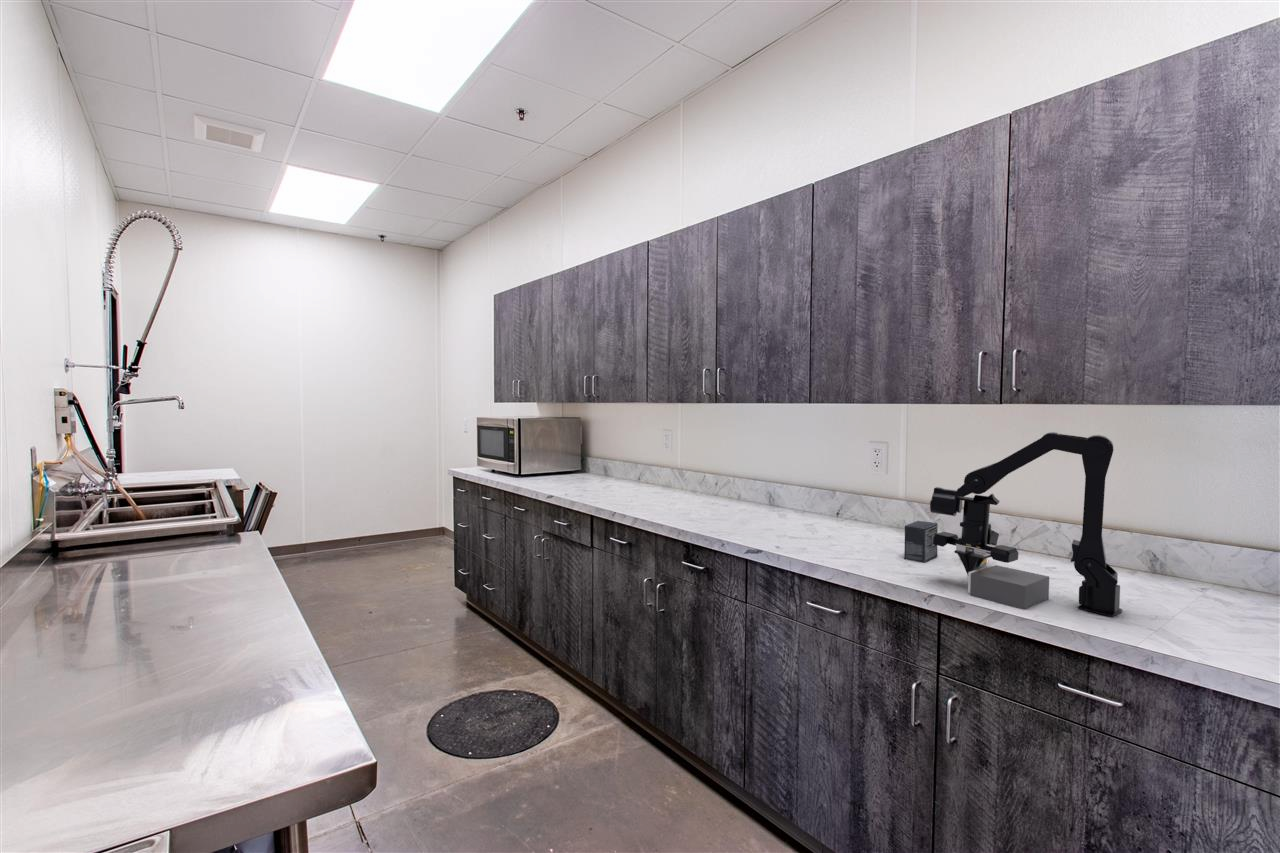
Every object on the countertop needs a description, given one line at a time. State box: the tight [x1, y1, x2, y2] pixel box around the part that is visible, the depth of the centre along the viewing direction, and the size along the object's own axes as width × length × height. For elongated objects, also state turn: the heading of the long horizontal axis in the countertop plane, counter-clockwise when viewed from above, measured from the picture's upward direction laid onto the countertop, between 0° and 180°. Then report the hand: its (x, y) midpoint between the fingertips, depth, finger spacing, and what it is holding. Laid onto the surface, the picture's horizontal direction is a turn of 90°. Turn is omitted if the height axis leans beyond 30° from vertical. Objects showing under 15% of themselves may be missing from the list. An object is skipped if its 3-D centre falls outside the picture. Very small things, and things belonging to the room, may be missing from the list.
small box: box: [903, 520, 939, 564], centre depth 178 cm, size 11×6×10 cm, turn 134°
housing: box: [969, 564, 1050, 610], centre depth 142 cm, size 12×13×5 cm
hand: (971, 579), depth 149 cm, fingers closed
